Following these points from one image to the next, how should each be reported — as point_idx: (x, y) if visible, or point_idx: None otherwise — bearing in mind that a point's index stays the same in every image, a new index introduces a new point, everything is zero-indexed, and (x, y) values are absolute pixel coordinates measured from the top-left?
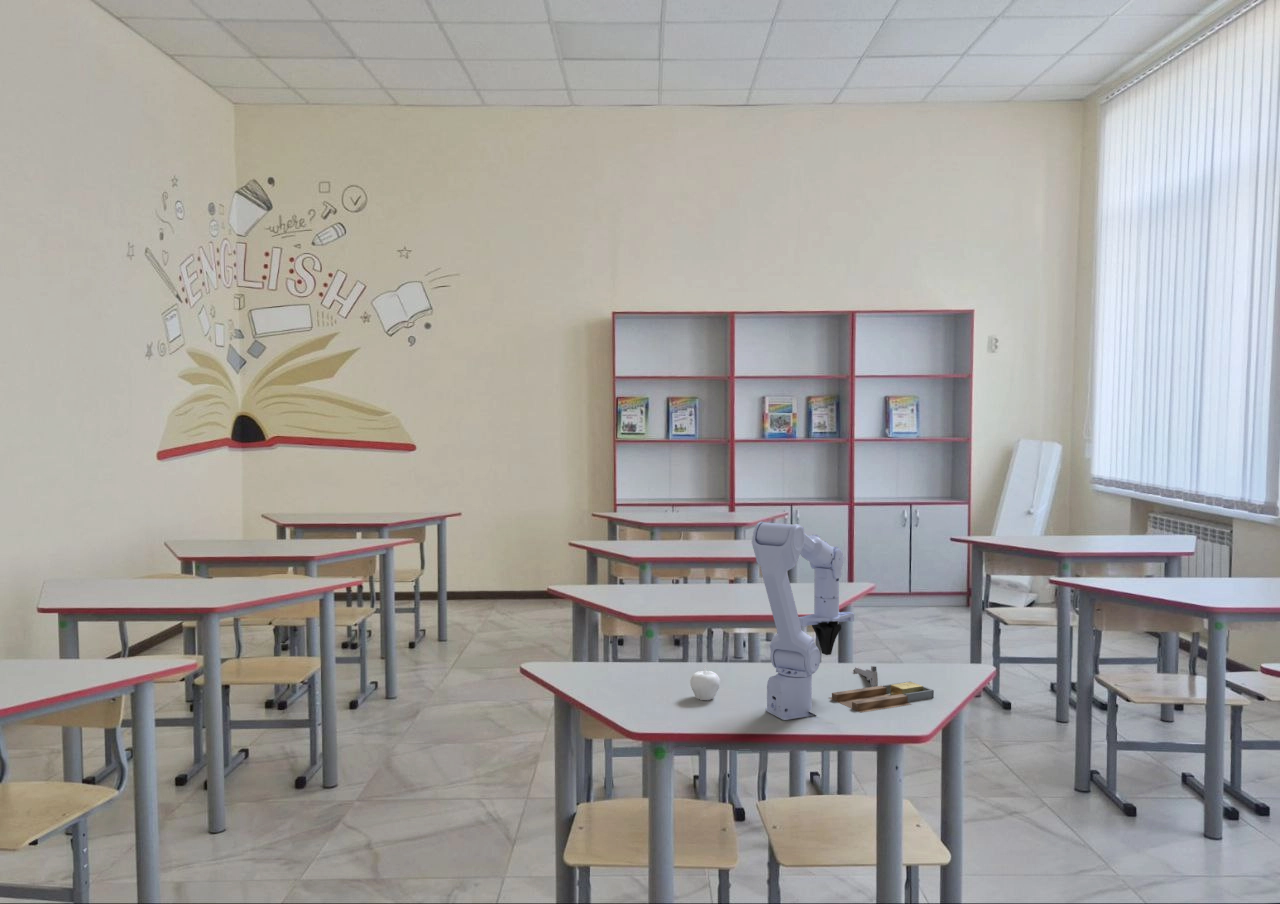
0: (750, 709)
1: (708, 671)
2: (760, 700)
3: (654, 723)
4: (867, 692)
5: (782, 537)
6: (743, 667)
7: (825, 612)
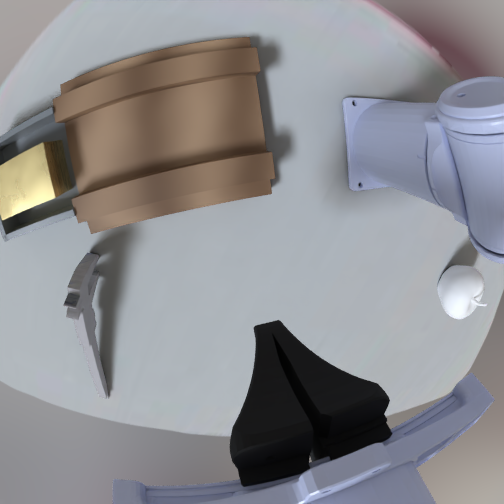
0: None
1: (467, 309)
2: (395, 251)
3: None
4: (142, 176)
5: None
6: None
7: (420, 493)
